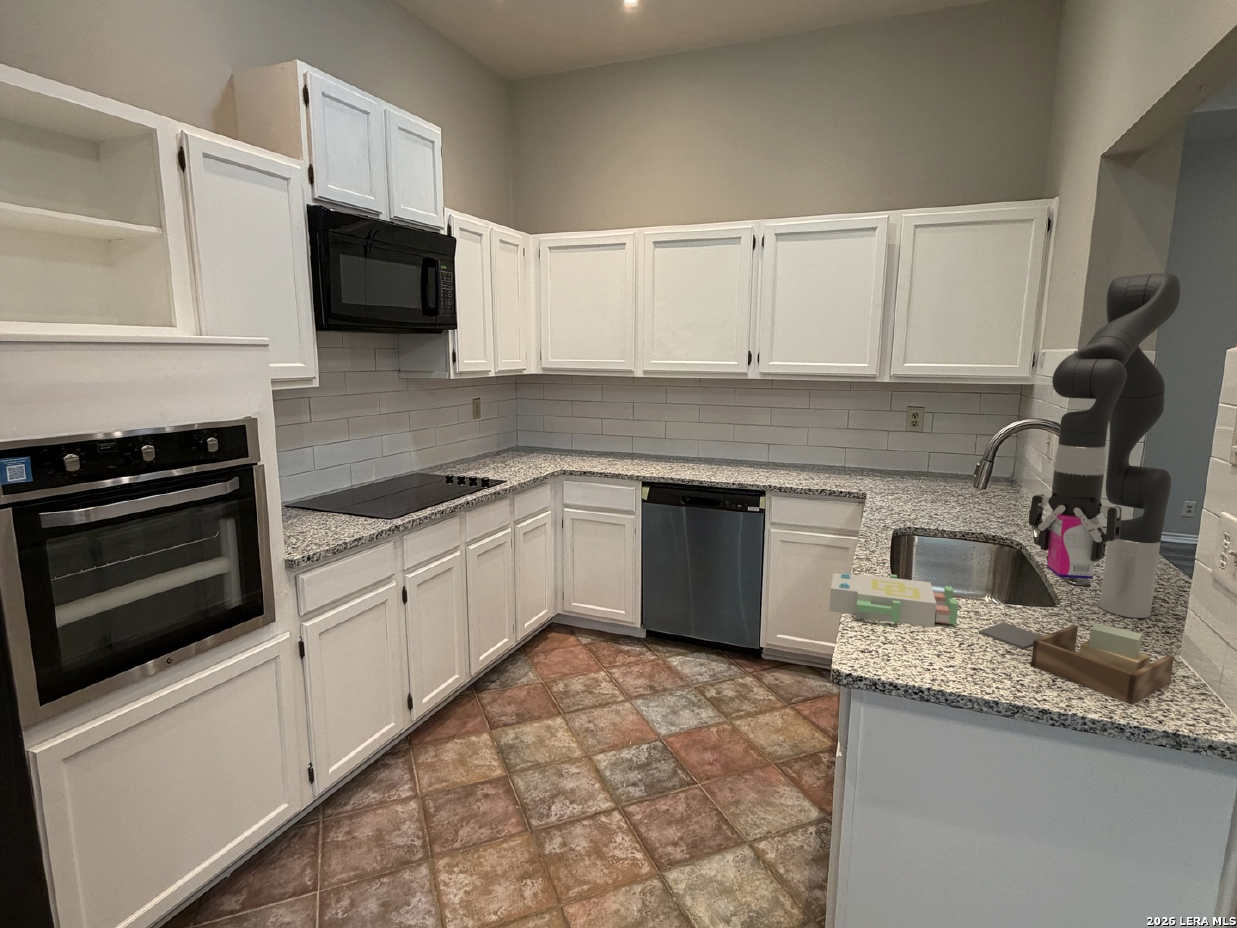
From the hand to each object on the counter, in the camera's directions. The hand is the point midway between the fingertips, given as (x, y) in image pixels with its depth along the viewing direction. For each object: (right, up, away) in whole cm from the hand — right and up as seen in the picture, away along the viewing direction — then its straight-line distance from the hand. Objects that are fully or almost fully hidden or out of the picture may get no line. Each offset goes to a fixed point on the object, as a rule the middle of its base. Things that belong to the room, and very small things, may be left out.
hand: (1069, 554), depth 121 cm
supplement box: (0, -4, +1) cm, 4 cm away
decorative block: (-22, -17, +27) cm, 39 cm away
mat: (-3, -19, +13) cm, 23 cm away
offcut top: (+7, -17, -2) cm, 19 cm away
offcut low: (+7, -21, -1) cm, 22 cm away
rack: (+3, -21, -3) cm, 22 cm away
